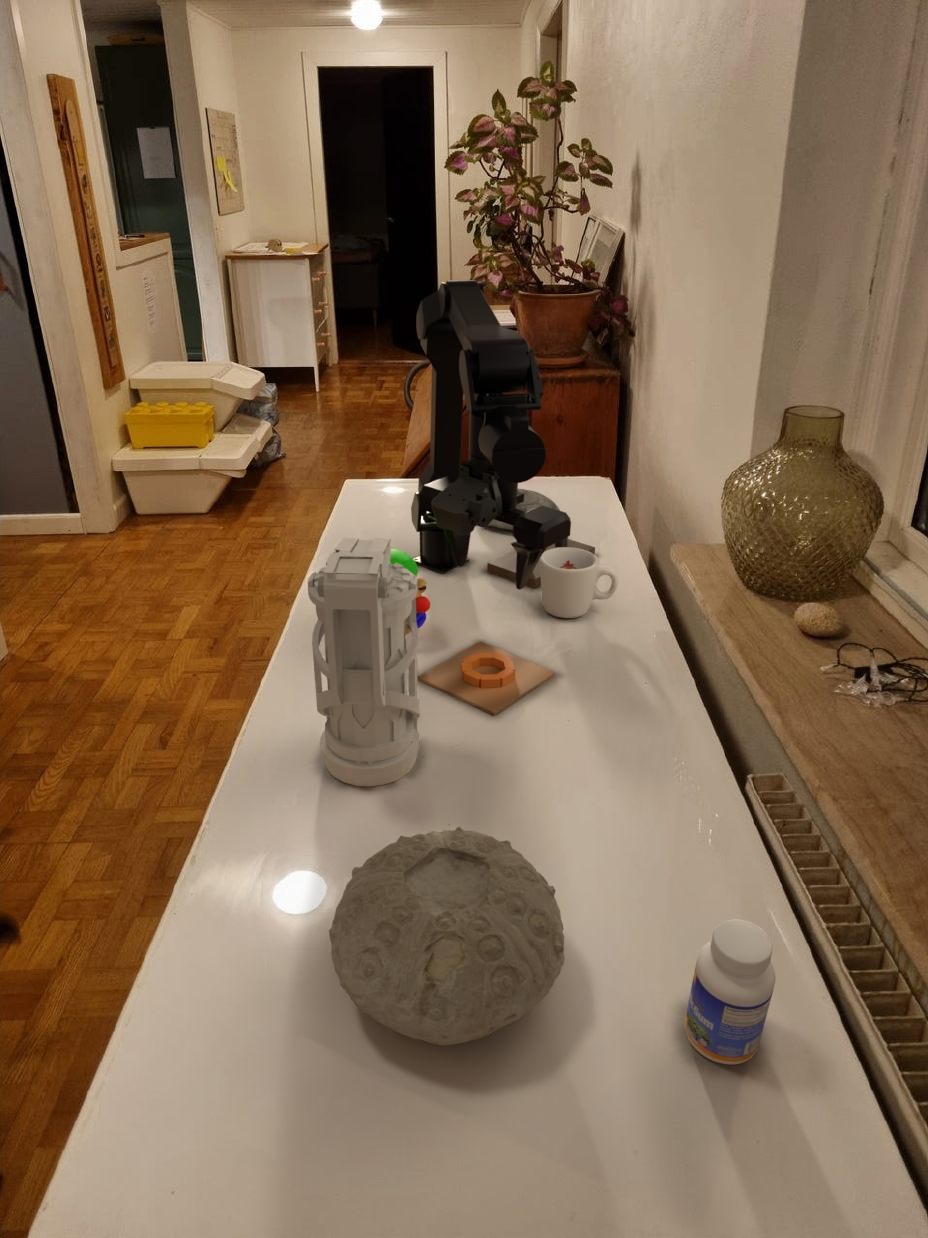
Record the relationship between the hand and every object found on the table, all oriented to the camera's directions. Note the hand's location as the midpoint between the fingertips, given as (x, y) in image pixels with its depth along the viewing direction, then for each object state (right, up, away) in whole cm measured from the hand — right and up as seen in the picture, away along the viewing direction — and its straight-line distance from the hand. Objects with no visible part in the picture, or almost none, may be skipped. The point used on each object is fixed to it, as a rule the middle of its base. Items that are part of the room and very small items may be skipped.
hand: (490, 576), depth 111 cm
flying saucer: (+6, +12, +48) cm, 50 cm away
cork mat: (0, -12, +1) cm, 12 cm away
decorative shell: (-4, -33, -38) cm, 51 cm away
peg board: (+9, +3, +32) cm, 33 cm away
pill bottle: (+16, -36, -43) cm, 58 cm away
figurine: (-13, -8, +10) cm, 18 cm away
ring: (0, -12, +1) cm, 12 cm away
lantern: (-13, -21, -15) cm, 29 cm away
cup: (+12, -4, +17) cm, 22 cm away
